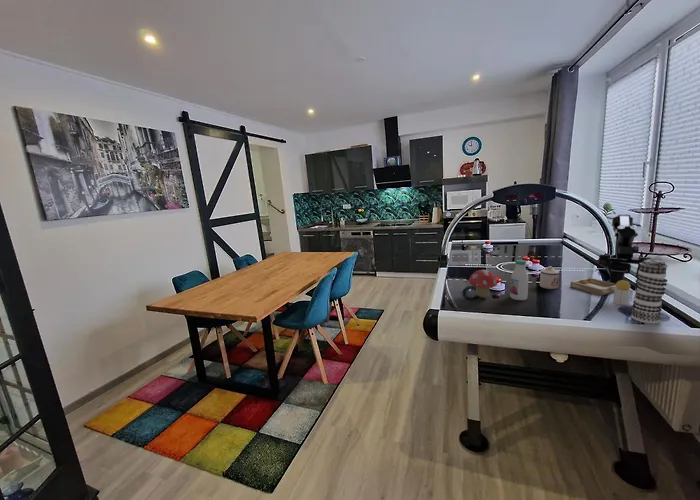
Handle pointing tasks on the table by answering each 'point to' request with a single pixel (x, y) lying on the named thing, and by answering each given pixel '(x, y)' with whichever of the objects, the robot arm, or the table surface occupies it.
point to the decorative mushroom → (483, 282)
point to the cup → (621, 296)
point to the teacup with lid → (549, 278)
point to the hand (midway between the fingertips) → (623, 276)
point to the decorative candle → (649, 291)
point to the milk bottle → (519, 281)
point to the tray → (594, 286)
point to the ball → (623, 285)
